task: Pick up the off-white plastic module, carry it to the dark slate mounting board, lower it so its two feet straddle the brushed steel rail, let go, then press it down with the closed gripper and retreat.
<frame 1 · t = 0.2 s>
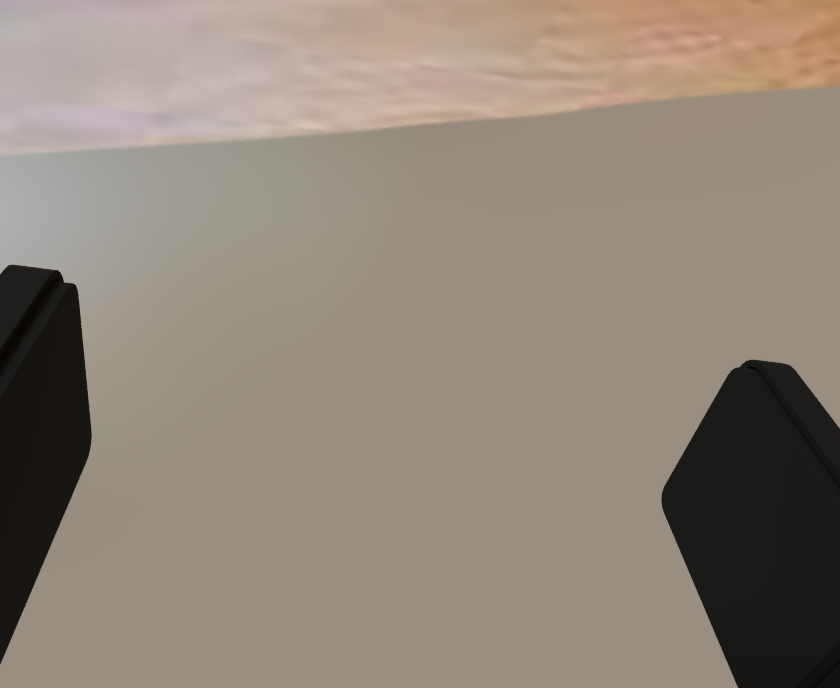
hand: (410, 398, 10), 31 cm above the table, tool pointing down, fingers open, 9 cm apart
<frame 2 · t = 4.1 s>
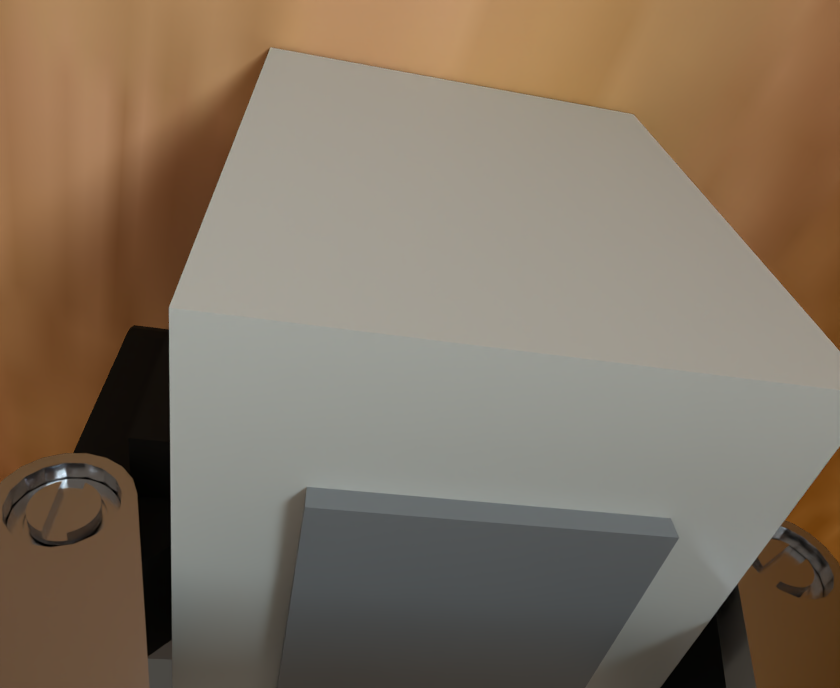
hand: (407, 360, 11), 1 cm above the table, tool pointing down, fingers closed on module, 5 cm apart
module: (405, 323, 12), on the table, touching gripper
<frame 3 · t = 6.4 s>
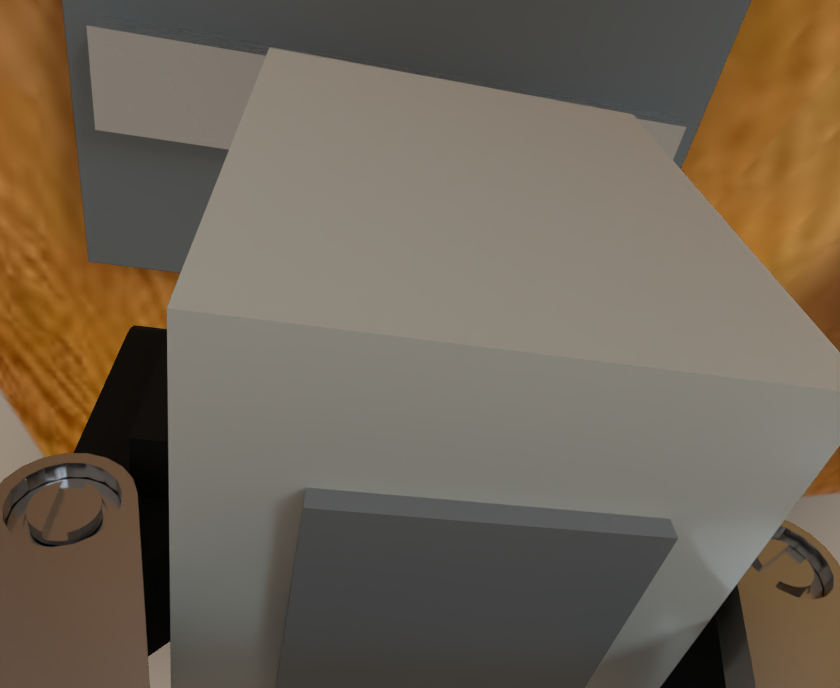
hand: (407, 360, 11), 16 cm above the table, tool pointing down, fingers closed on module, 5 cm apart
mounting board: (395, 99, 24), on the table
module: (404, 324, 12), point 15 cm above the table, touching gripper
steel rail: (396, 121, 23), on the mounting board, point 2 cm above the table
when the fingers open (3 cm above the table, at t = 8.7 s): module stays where it is, resting on mounting board.
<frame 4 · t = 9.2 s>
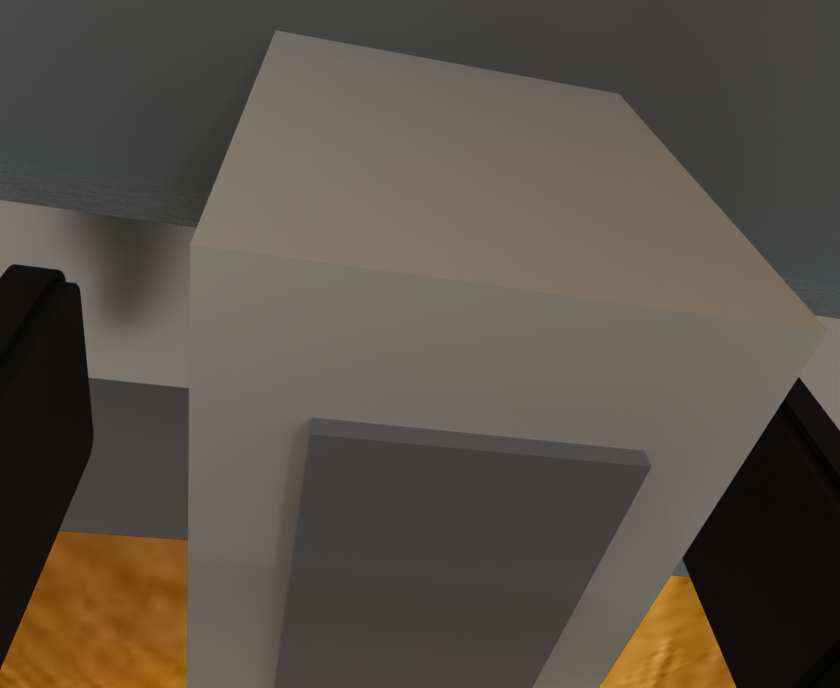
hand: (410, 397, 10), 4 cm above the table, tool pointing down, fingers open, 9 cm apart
mounting board: (399, 256, 14), on the table
module: (404, 297, 13), point 1 cm above the table, touching mounting board
steel rail: (404, 319, 12), on the mounting board, point 2 cm above the table
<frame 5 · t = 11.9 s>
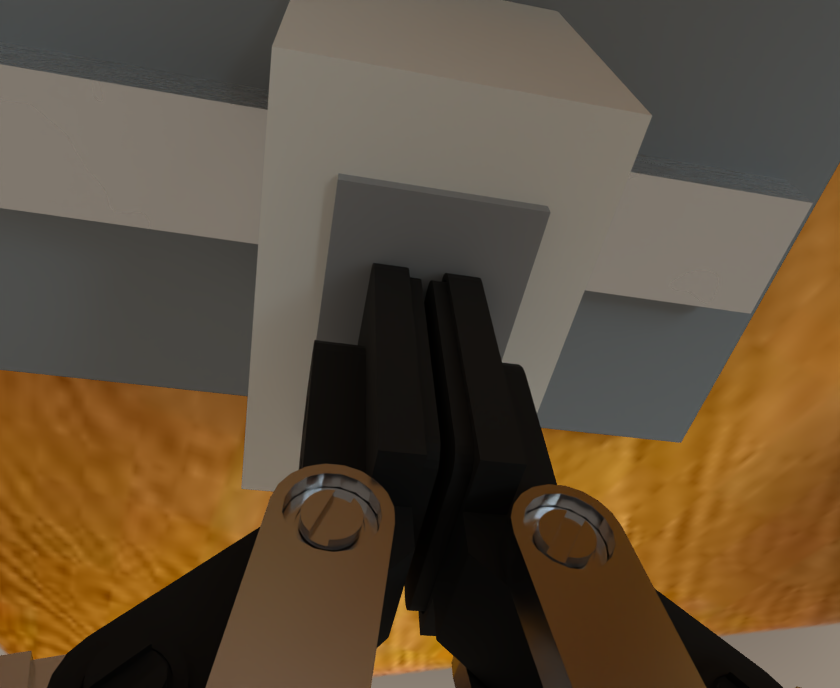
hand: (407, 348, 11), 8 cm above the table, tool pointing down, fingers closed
mounting board: (396, 153, 18), on the table
module: (399, 177, 16), point 1 cm above the table, touching gripper, mounting board
steel rail: (399, 190, 16), on the mounting board, point 2 cm above the table
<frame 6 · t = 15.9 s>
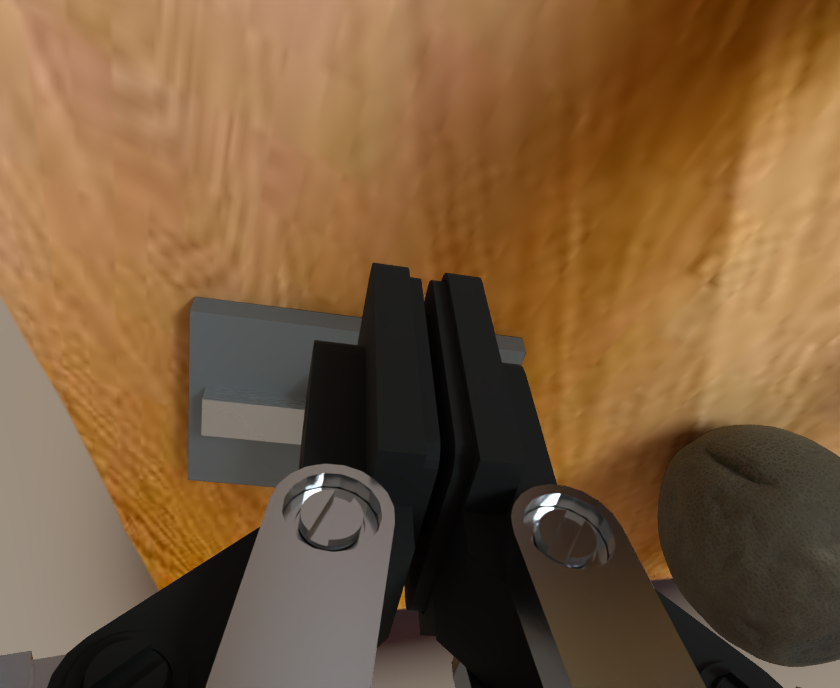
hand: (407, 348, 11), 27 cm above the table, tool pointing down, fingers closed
mounting board: (348, 403, 48), on the table
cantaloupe: (724, 452, 53), on the table
steel rail: (348, 425, 46), on the mounting board, point 2 cm above the table
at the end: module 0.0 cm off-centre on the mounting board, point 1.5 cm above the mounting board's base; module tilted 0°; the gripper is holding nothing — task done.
